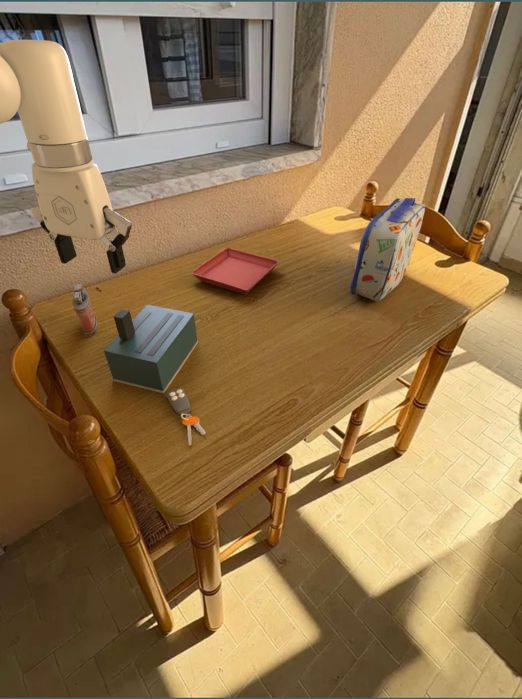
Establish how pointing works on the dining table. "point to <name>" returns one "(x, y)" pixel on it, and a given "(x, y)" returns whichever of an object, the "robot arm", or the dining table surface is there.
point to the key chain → (184, 410)
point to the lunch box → (387, 249)
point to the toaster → (153, 348)
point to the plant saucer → (235, 270)
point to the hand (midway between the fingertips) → (93, 264)
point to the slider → (124, 324)
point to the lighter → (84, 311)
